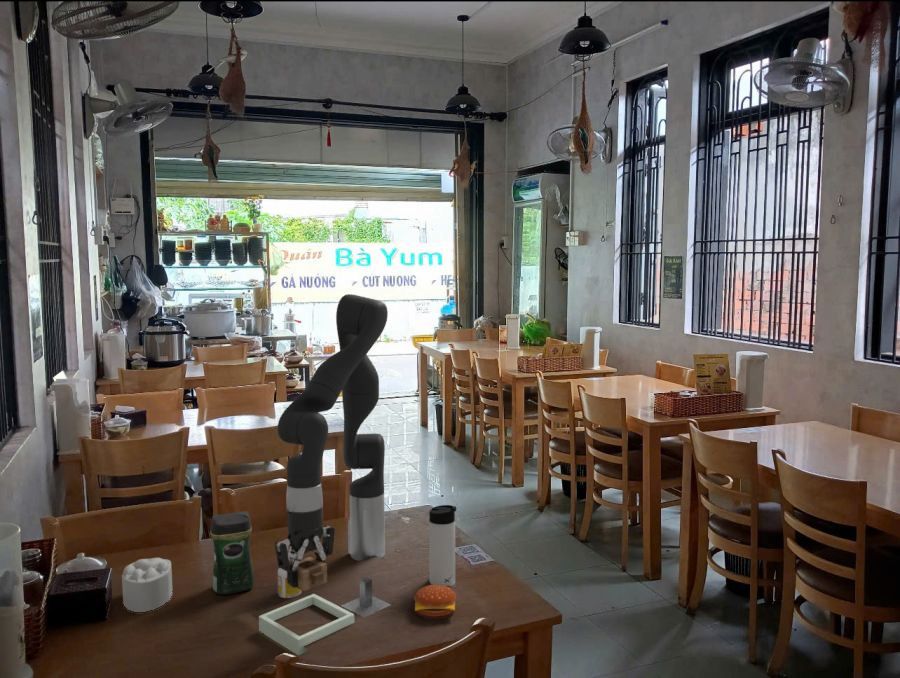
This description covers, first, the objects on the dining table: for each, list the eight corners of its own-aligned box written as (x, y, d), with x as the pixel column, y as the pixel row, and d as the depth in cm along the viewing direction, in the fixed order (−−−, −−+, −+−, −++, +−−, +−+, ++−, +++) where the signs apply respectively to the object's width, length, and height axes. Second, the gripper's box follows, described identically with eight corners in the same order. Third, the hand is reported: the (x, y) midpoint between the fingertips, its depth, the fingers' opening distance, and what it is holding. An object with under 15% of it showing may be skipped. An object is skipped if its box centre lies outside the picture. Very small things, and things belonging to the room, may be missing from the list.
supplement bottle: (306, 595, 170) (305, 556, 169) (294, 605, 165) (292, 565, 164) (286, 592, 172) (285, 553, 171) (273, 602, 167) (272, 561, 166)
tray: (259, 630, 154) (258, 616, 154) (314, 607, 164) (313, 593, 164) (298, 655, 144) (298, 639, 144) (354, 629, 155) (354, 614, 154)
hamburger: (458, 626, 156) (457, 597, 155) (413, 627, 155) (413, 598, 155) (455, 605, 165) (455, 578, 164) (414, 607, 165) (413, 579, 164)
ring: (287, 583, 153) (286, 565, 152) (310, 574, 157) (309, 556, 157) (308, 593, 148) (307, 574, 147) (331, 584, 152) (330, 565, 152)
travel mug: (453, 593, 171) (453, 512, 169) (426, 591, 173) (426, 510, 170) (458, 582, 177) (458, 503, 175) (432, 579, 179) (432, 501, 177)
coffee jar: (251, 578, 180) (249, 506, 178) (256, 591, 173) (253, 516, 171) (211, 584, 176) (208, 511, 175) (213, 598, 169) (210, 521, 167)
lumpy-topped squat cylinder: (174, 585, 176) (173, 551, 175) (167, 610, 163) (166, 573, 162) (129, 590, 173) (127, 556, 172) (118, 616, 161) (116, 578, 160)
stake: (341, 612, 162) (340, 580, 161) (368, 599, 168) (367, 569, 167) (364, 623, 157) (363, 591, 156) (391, 611, 163) (390, 579, 162)
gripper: (321, 493, 159) (323, 566, 161) (265, 509, 149) (267, 587, 150) (342, 500, 154) (344, 575, 156) (286, 517, 144) (288, 598, 145)
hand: (306, 581), depth 153 cm, fingers closed on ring, 6 cm apart
